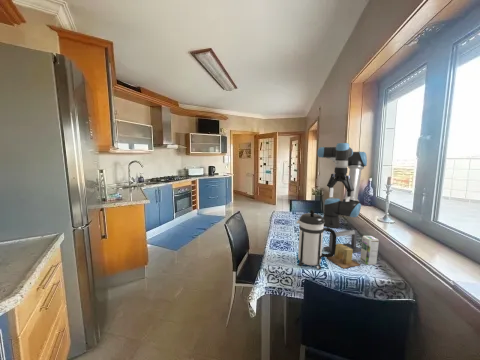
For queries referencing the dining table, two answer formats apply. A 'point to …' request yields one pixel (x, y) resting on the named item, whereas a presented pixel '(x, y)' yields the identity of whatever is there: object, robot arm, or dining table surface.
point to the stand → (352, 245)
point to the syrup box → (369, 250)
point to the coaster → (340, 262)
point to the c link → (347, 253)
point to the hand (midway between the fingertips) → (338, 199)
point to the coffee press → (313, 239)
